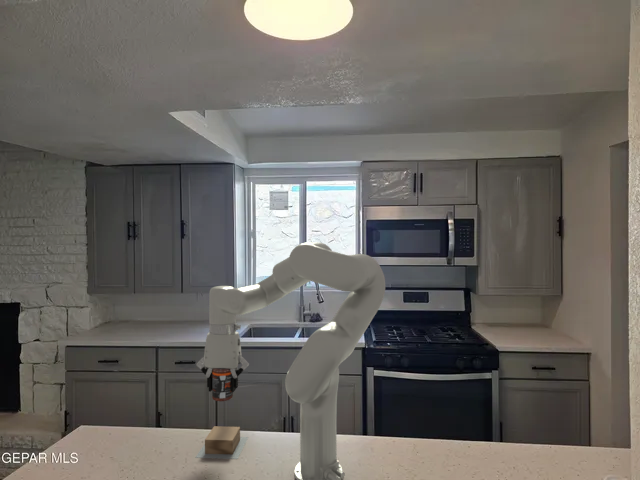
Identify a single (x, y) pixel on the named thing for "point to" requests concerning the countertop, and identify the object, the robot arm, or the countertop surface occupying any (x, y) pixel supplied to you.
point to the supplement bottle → (221, 384)
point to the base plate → (224, 456)
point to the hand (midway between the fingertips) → (222, 389)
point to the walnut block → (222, 440)
